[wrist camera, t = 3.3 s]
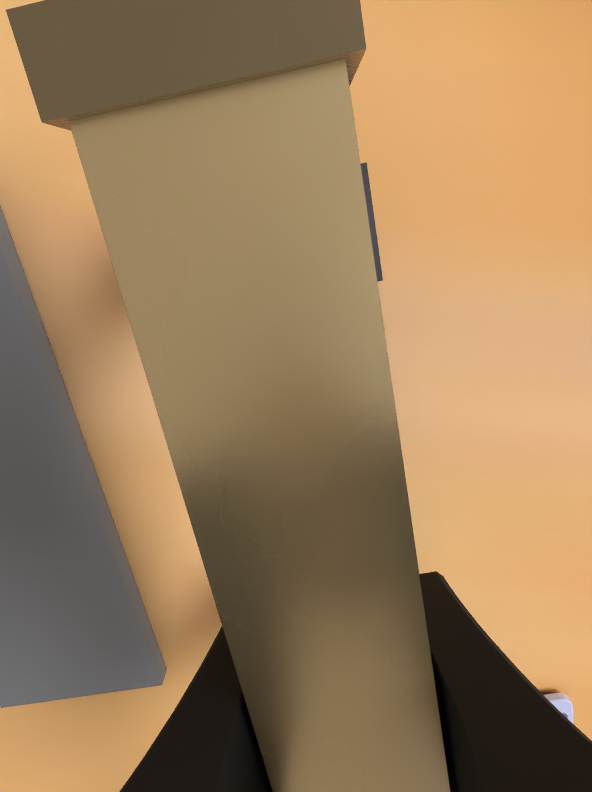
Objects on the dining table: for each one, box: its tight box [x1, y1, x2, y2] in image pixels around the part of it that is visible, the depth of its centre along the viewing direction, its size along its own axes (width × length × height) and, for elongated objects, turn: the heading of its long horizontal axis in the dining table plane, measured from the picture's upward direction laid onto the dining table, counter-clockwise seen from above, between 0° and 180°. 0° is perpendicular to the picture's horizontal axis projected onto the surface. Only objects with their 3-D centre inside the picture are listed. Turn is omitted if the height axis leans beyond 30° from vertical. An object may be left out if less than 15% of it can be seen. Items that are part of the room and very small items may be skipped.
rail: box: [6, 0, 450, 792], centre depth 8 cm, size 18×3×3 cm, turn 11°
